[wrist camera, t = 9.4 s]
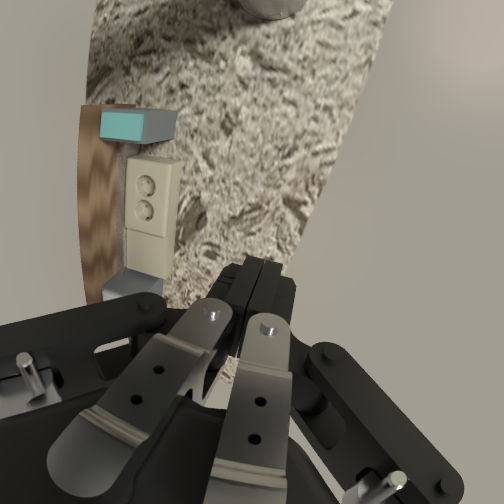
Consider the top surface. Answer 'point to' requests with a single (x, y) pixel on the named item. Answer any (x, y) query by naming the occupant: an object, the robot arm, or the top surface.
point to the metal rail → (122, 203)
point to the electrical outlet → (151, 213)
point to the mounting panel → (96, 201)
